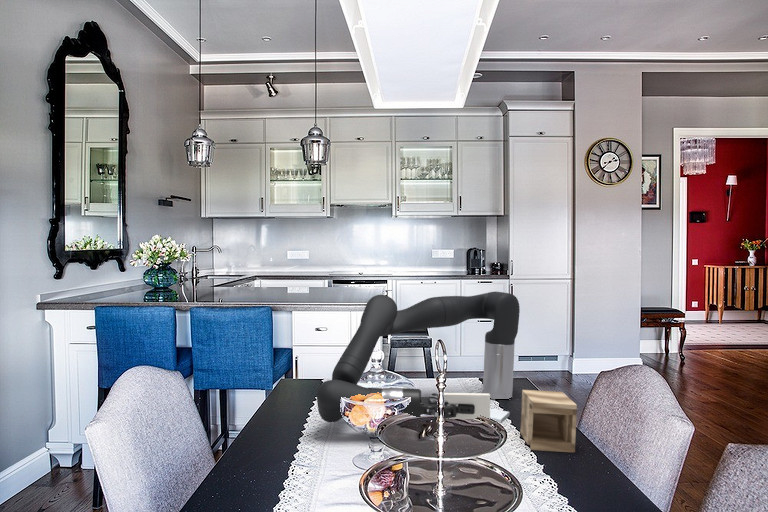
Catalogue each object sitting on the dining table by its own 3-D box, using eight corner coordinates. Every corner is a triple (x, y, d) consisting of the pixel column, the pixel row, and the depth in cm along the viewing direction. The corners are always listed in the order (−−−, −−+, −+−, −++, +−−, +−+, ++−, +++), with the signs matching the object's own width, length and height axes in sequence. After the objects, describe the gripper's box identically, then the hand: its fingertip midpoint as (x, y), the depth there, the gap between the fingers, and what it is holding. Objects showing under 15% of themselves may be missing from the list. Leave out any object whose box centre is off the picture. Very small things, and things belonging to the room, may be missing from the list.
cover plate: (442, 432, 121) (442, 392, 121) (488, 432, 121) (489, 393, 121) (443, 434, 119) (443, 394, 119) (489, 435, 119) (490, 395, 119)
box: (520, 432, 129) (522, 389, 128) (560, 435, 128) (562, 391, 128) (531, 449, 117) (533, 402, 117) (574, 452, 117) (576, 405, 117)
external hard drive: (500, 425, 136) (457, 415, 142) (509, 417, 143) (467, 408, 149) (501, 419, 136) (457, 410, 142) (509, 411, 143) (467, 403, 149)
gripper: (400, 411, 127) (469, 414, 127) (399, 430, 114) (477, 434, 113) (401, 381, 127) (470, 384, 127) (400, 396, 114) (478, 400, 113)
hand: (473, 407), depth 120 cm, fingers closed on cover plate, 1 cm apart
